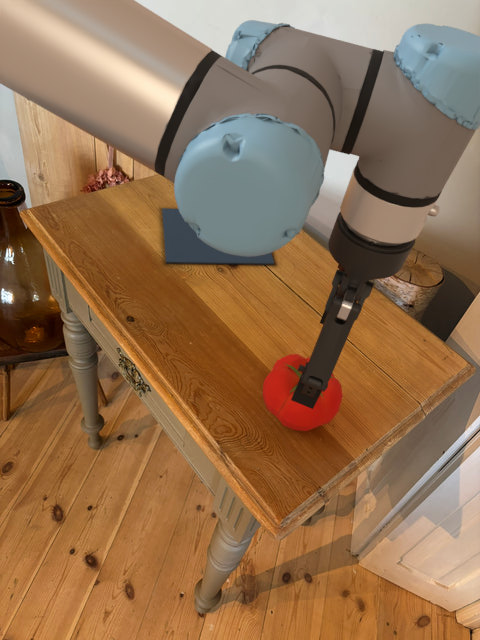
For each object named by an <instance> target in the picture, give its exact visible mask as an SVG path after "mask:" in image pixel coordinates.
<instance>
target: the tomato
mask: <svg viewBox="0 0 480 640" xmlns="http://www.w3.org/2000/svg"><path fill="white" fill-rule="evenodd" d="M310 357H311V356H310ZM310 357H303V355H300V354H298V353H292V354H291V353H290V354H287V355H285V356H282V357H281V358H279V359H277V360H276V361H275V363H274V365H273V366H272V369H271V371H270V372H269V373H268V374H267V375H266V377H265V379H264V380H263V384H262V399H263V402H264V404H265V407H266V409H267V411H268V412H270V414H272V415H273V416H274V417H275V418H276V419H277V420H278V421H279V422H280V423H281V425H282V426H283V427H286V428H288V429H290V430H293V431H299V432H309V431H311V430H313V429H316V428H319V427H321V426H324V425H327V424H329V423H330V422H331V421H332V420H333V419H334V418H335V417H336V416H337V414H338V413H339V411H340V407H341V405H342V399H343V396H344V394H343V388H342V384H341V383H340V381H339V379H338V378H336V377H335V375H334V372H332V375H331V377H330V380H329V382H328V387H327V389H326V390H325V391H324V392H323V391H322V392H321V394H320V396H319V398H318V400H317V402H316V404H315V406H314V408H313V409H311V408H309V407H307V406H304V405H302V404H299V403H297V402H294V401H292V400H291V399H292V396H293V394H294V391H295V389H296V387H297V384H298V382H299V379H300V377H301V375H302V372H300V371H298V368H299V365H303V366H305V365H306V363H308V362H309V360H310Z"/></svg>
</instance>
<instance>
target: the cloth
mask: <svg viewBox="0 0 480 640" xmlns="http://www.w3.org/2000/svg"><path fill="white" fill-rule="evenodd" d="M161 211H162V223H163V224H162V225H163V239H164V240H163V241H164V242H163V243H164V254H165V264H177V265H178V264H181V265H182V264H183V265H184V264H185V265H187V264H188V265H257V266H258V265H260V266H274V265H275V260H274V258H273V254H272V253H268V254H265V255H260V256H252V257H245V256H237V255H231V254H227V253H224V252H221V251H219V250H216V249H214V248H213V247H211V246H209V245H207V244H206V243H204V242H203V241H202V240H201V239H199V238H198V237H197V234H196V232H195V231H194V230H193V229H192V228H191V227H190V225H189V224H188V223H187V222H185V221H184V219H183V217H182V216H181V214H180V212H179V209H178V208H167V207H166V208H164V207H163V208H162V209H161Z"/></svg>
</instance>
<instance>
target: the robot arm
mask: <svg viewBox="0 0 480 640" xmlns="http://www.w3.org/2000/svg"><path fill="white" fill-rule="evenodd" d="M226 49H227V50H226V52H225V55H224V56H223V55H221V54H220V53H218V52H217V51H215V50H213V49H212V48H211V47H209V46H208V45H206V44H205V43H203V42H201V41H200V40H198V39H197V38H196V37H193V36H192V35H190V34H188V33H187V32H186V31H184V30H182V29H181V28H179V27H177V26H176V25H175V24H173V23H171V22H170V21H169V20H166V19H164V18H163V17H161V15H159V14H157V13H155V12H154V11H152V10H151V9H149V8H147V7H146V6H144V5H143V4H141V3H139V2H138V1H136V0H0V84H1V85H2V86H4V87H5V88H7V89H9V90H11V91H13V92H15V93H16V94H18V95H20V96H21V97H23V98H24V99H27V100H28V101H30V102H32V103H34V104H35V105H37V106H39V107H41V108H42V109H44V110H46V111H48V112H49V113H51V114H53V115H55V116H56V117H58V118H60V119H62V120H63V121H65V122H67V123H68V124H70V125H72V126H74V127H76V128H77V129H79V130H81V131H82V132H83V133H87V134H88V135H90V136H91V137H93V138H95V139H97V140H98V141H100V142H102V143H104V144H105V145H107V146H109V147H111V148H112V149H114V150H116V151H118V152H120V153H121V154H123V155H125V156H126V157H128V158H130V159H132V160H134V161H135V162H137V163H139V164H141V165H142V166H144V167H146V168H148V170H151V171H153V172H154V173H156V174H158V175H160V176H161V177H163V178H164V179H166V180H168V181H170V182H171V183H173V184H174V185H173V190H174V199H175V203H176V206H177V209H179V212H180V214H181V216H182V217H183V219H184V221H185V222H187V223H188V224H189V225H190V227H191V228H192V229H193V230H194V231H195V232H196V234H197V237H198V238H199V239H201V240H202V241H203V242H204V243H206V244H207V245H209V246H211V247H213V248H214V249H216V250H219V251H221V252H224V253H227V254H231V255H237V256H245V257H252V256H260V255H265V254H268V253H271V254H272V253H274V252H276V251H278V250H280V249H282V248H283V247H285V246H286V245H288V244H289V243H290V242H291V241H292V240H293V239H295V237H296V236H298V235H299V234H300V233H301V231H302V230H303V227H304V225H305V224H306V221H307V218H308V216H309V213H310V211H311V208H312V206H313V205H314V204H315V203H316V201H317V200H318V198H319V196H320V192H321V187H322V186H323V184H324V181H325V169H326V165H327V161H328V157H329V153H330V151H334V152H338V153H341V154H345V155H353V156H356V157H358V160H357V161H356V164H355V166H354V167H353V170H352V171H351V172H352V173H351V175H350V179H349V181H348V184H347V186H346V190H345V193H344V195H343V198H342V201H341V205H340V207H339V208H340V211H339V213H338V214H337V216H336V219H335V222H334V225H333V226H332V227H333V228H332V230H331V233H330V236H329V238H328V251H329V253H330V255H331V257H332V258H333V260H334V261H335V262H336V263H337V264H338V265H337V269H336V271H335V274H334V275H333V278H332V280H331V286H332V287H331V291H330V293H329V295H328V298H327V300H326V303H325V306H324V310H323V313H322V316H321V318H320V321H319V324H321V325H322V327H321V330H320V332H319V334H318V337H317V340H316V342H315V344H314V347H313V349H312V352H311V355H310V360H309V362H308V363H306V365H305V366H303V365H299V368H298V371H300V372H302V375H301V377H300V379H299V382H298V384H297V387H296V389H295V391H294V394H293V396H292V399H291V400H292V401H294V402H297V403H299V404H302V405H304V406H307V407H309V408H311V409H313V408H314V406H315V404H316V402H317V400H318V398H319V396H320V394H321V392H322V391H323V392H324V391H325V390H326V389H327V387H328V382H329V380H330V377H331V375H332V373H334V370H335V368H336V365H337V363H338V361H339V358H340V356H341V354H342V351H343V350H344V347H345V344H346V342H347V340H348V337H349V335H350V333H351V330H352V328H353V325H354V324H355V322H356V321H357V320H358V318H359V317H360V314H361V312H362V308H363V306H364V303H365V301H366V299H368V298H369V297H370V295H371V293H372V291H373V288H374V285H375V282H374V281H373V280H382V279H388V278H391V277H393V276H395V275H397V273H399V272H400V271H401V270H402V268H403V266H404V265H405V263H406V261H407V259H408V257H409V255H410V254H411V251H412V249H413V248H414V246H415V244H416V239H417V238H418V236H419V235H420V233H421V231H422V230H423V229H424V226H425V224H426V222H427V219H428V216H430V217H433V218H435V217H437V216H438V214H439V213H440V206H438V205H437V204H436V203H437V201H438V200H439V198H440V196H441V194H442V192H443V190H444V189H445V186H446V184H447V182H448V181H449V179H450V177H451V175H452V174H453V172H454V169H456V166H457V165H458V163H459V161H460V159H461V158H462V156H463V154H464V152H465V150H466V149H467V147H468V145H469V143H470V142H471V140H472V138H473V137H474V135H475V133H476V131H477V130H478V129H480V35H478V34H475V33H473V32H470V31H466V30H464V29H461V28H456V27H454V26H448V25H436V24H433V23H418V24H414V25H412V26H410V27H408V28H407V29H406V31H405V32H404V33H403V35H402V36H401V38H400V41H399V43H398V44H397V45H396V46H395V48H394V51H391V50H386V49H383V50H380V49H376V48H371V47H368V46H363V45H359V44H355V43H352V42H349V41H344V40H341V39H337V38H333V37H329V36H325V35H321V34H318V33H314V32H311V31H306V30H303V29H298V28H296V27H294V26H292V25H291V24H289V23H285V22H281V23H272V22H266V21H260V20H255V19H248V20H245V21H243V22H242V23H241V24H239V25H238V27H237V28H236V29H235V31H234V33H233V35H232V38H231V41H230V43H229V44H228V45H227V48H226Z"/></svg>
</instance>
